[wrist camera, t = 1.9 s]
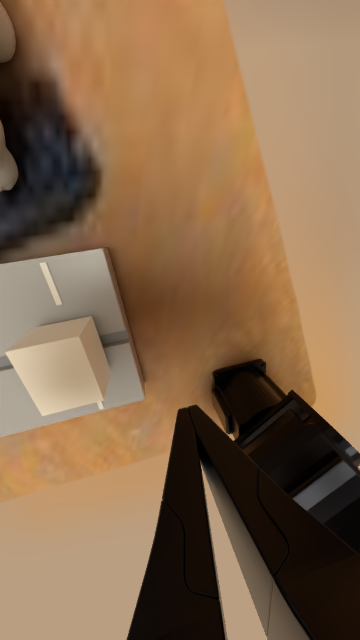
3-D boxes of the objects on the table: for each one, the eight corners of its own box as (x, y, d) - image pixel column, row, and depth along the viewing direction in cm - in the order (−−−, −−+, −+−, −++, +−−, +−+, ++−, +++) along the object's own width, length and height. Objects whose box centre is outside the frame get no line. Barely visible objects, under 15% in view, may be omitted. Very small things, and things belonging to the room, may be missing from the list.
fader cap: (93, 312, 15) (79, 336, 11) (111, 364, 17) (104, 400, 13) (40, 323, 15) (4, 352, 11) (64, 375, 17) (42, 416, 13)
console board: (107, 247, 16) (102, 248, 13) (144, 382, 21) (145, 400, 19) (-190, 293, 13) (-266, 305, 11) (-62, 433, 19) (-93, 462, 16)
